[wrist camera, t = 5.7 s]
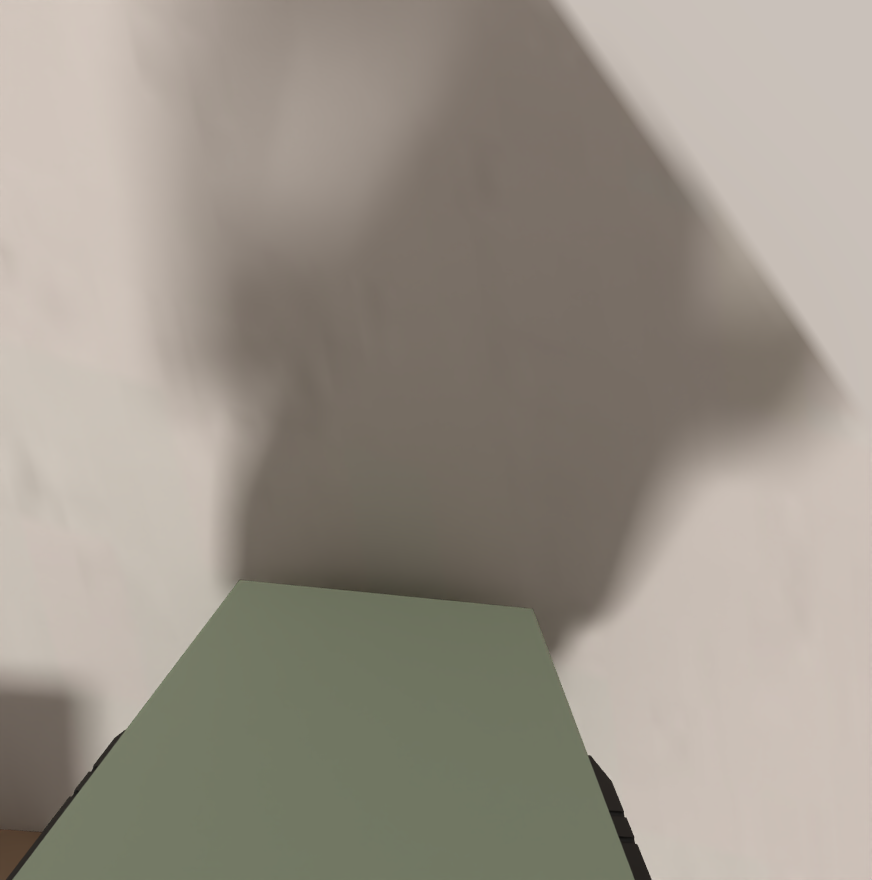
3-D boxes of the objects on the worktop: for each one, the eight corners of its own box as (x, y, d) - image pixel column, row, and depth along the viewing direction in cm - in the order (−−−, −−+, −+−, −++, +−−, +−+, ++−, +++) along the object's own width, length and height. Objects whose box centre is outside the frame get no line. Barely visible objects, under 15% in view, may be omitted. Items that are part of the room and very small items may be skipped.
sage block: (532, 609, 9) (671, 975, 4) (491, 841, 11) (558, 1365, 5) (239, 580, 9) (-23, 926, 4) (230, 820, 10) (18, 1345, 5)
